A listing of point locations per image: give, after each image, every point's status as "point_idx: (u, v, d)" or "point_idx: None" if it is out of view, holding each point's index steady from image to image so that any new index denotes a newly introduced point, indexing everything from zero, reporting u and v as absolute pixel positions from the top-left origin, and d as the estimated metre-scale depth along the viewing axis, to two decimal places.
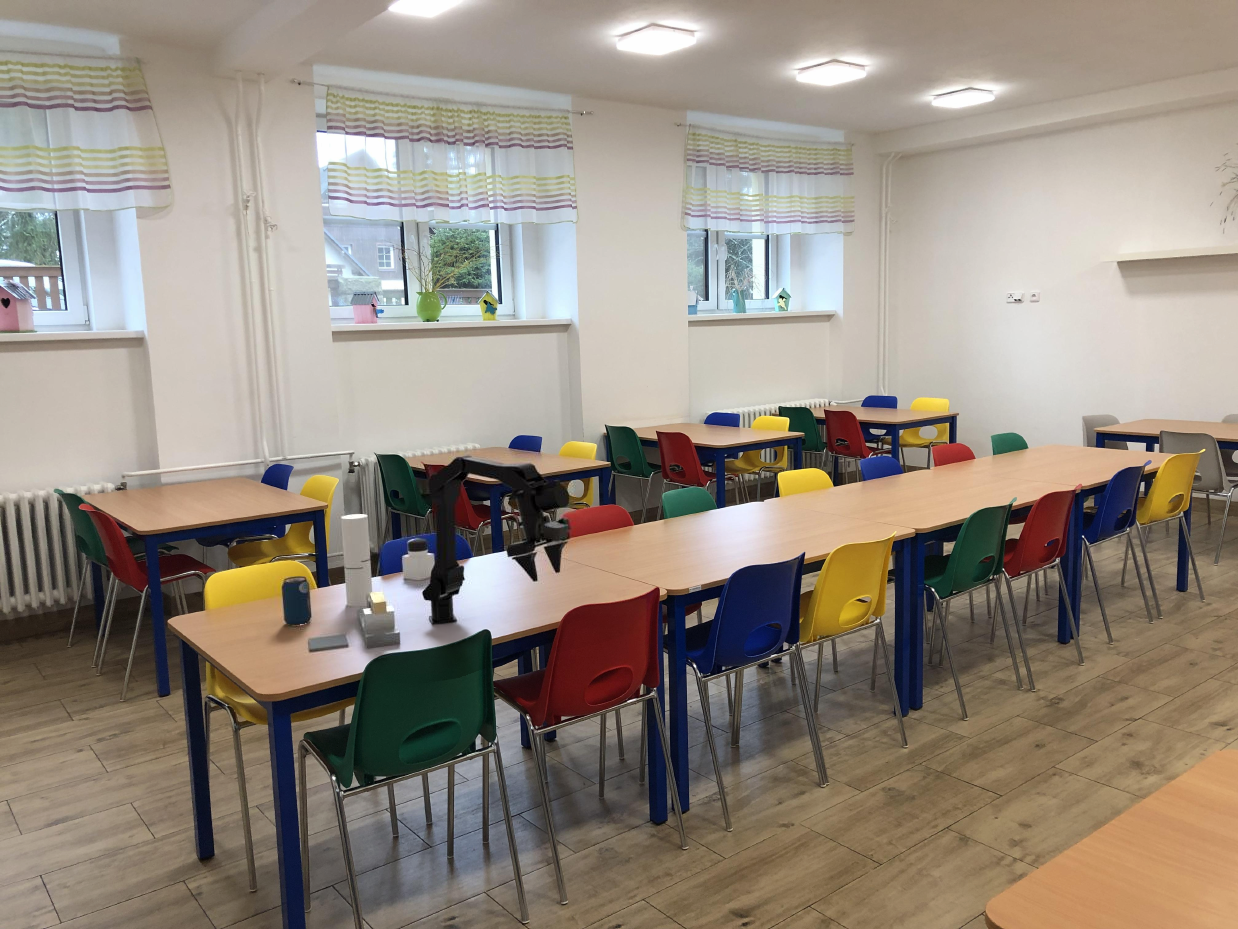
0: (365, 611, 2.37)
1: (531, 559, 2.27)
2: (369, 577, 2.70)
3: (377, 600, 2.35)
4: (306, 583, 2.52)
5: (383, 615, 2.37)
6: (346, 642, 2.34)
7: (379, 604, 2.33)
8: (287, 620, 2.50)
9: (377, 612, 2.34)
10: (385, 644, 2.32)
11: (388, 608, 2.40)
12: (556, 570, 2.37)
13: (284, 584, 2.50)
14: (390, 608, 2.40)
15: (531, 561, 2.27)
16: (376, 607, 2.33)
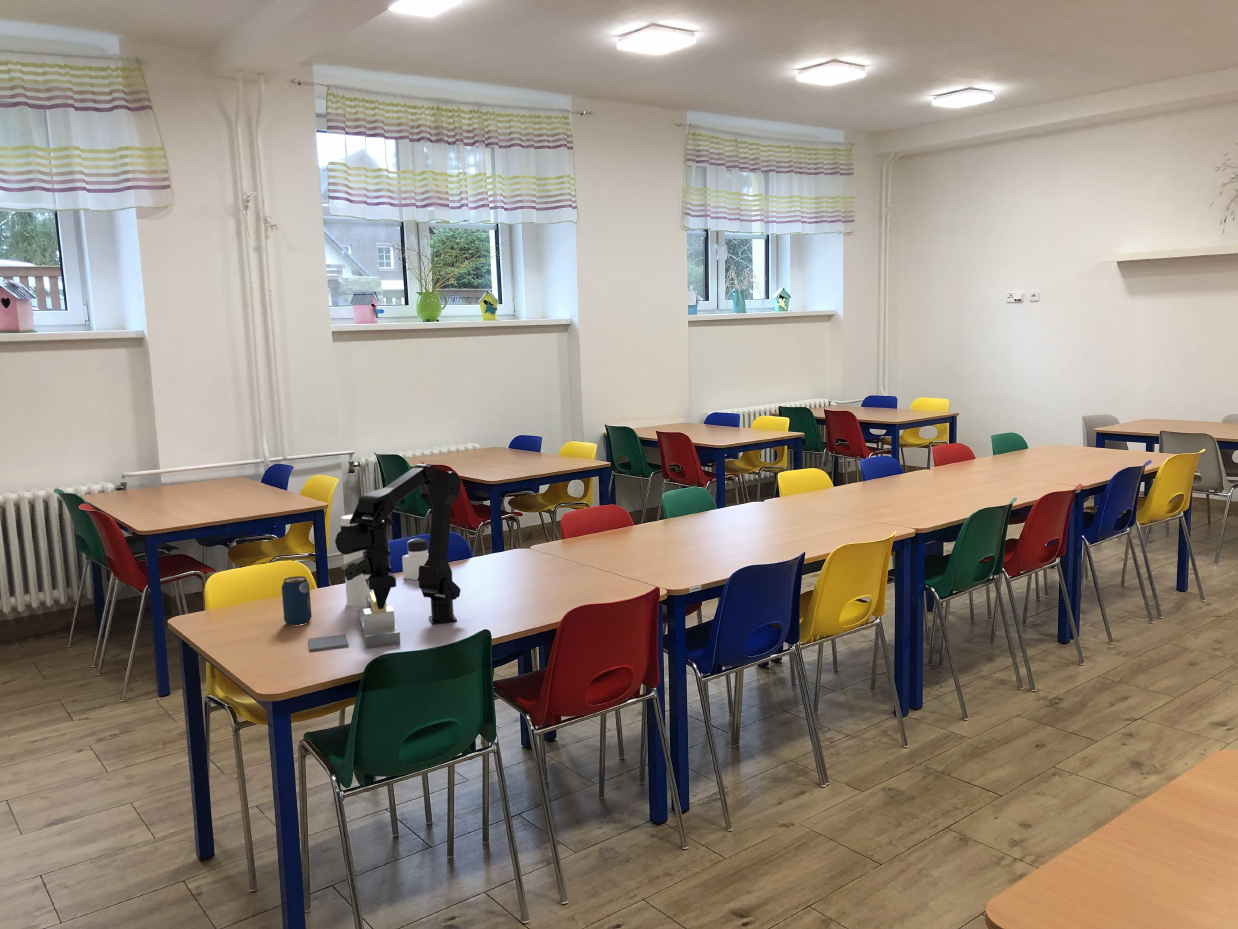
0: (365, 611, 2.37)
1: None
2: None
3: None
4: (306, 583, 2.52)
5: (383, 615, 2.37)
6: (346, 642, 2.34)
7: None
8: (287, 620, 2.50)
9: (377, 611, 2.34)
10: (385, 644, 2.32)
11: (388, 608, 2.40)
12: None
13: (284, 584, 2.50)
14: (390, 608, 2.40)
15: None
16: (376, 607, 2.34)
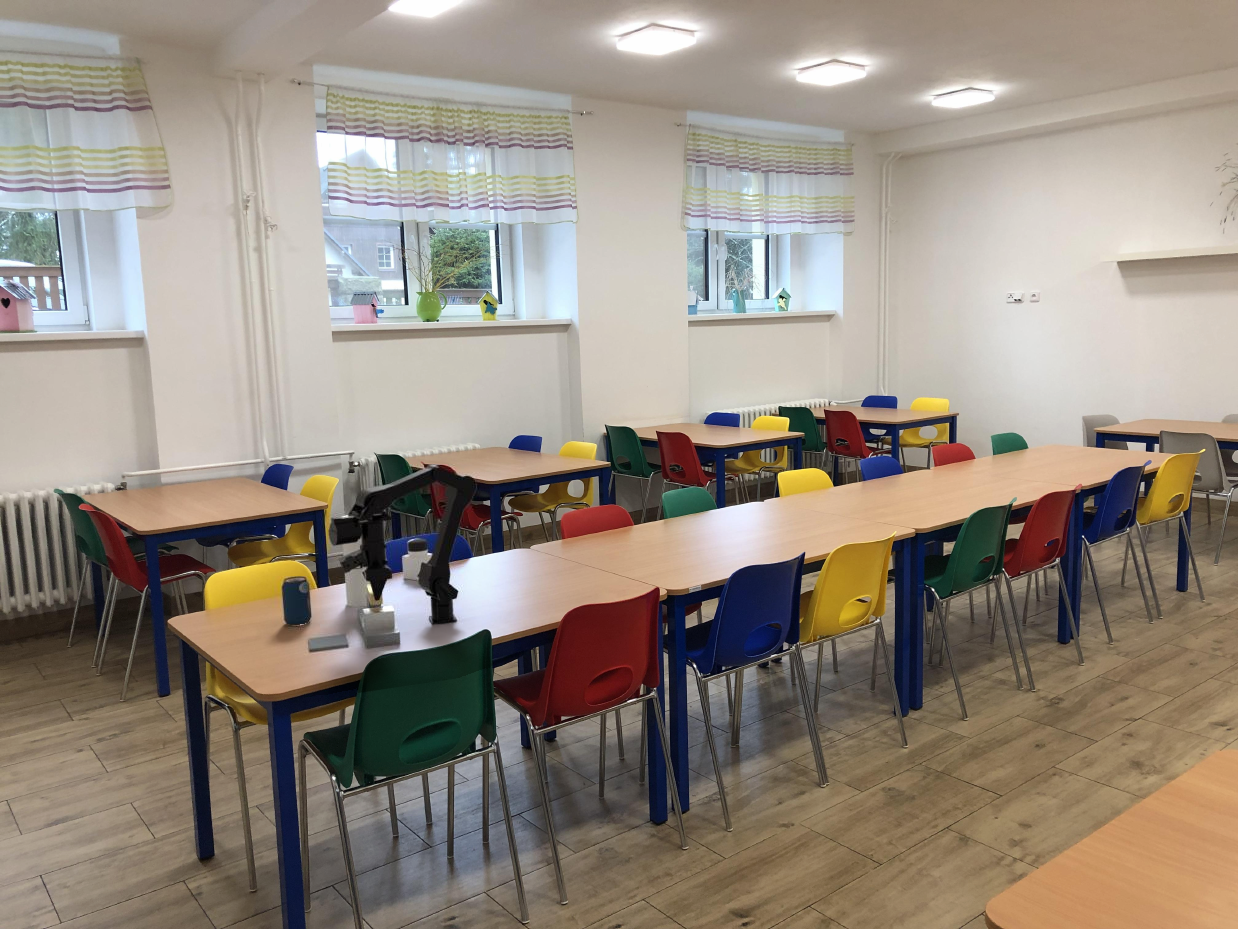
0: (365, 611, 2.37)
1: None
2: None
3: None
4: (306, 583, 2.52)
5: (383, 615, 2.37)
6: (346, 642, 2.34)
7: None
8: (287, 620, 2.50)
9: (373, 603, 2.42)
10: (385, 644, 2.32)
11: (388, 608, 2.40)
12: None
13: (284, 584, 2.50)
14: (390, 608, 2.40)
15: None
16: (373, 598, 2.42)
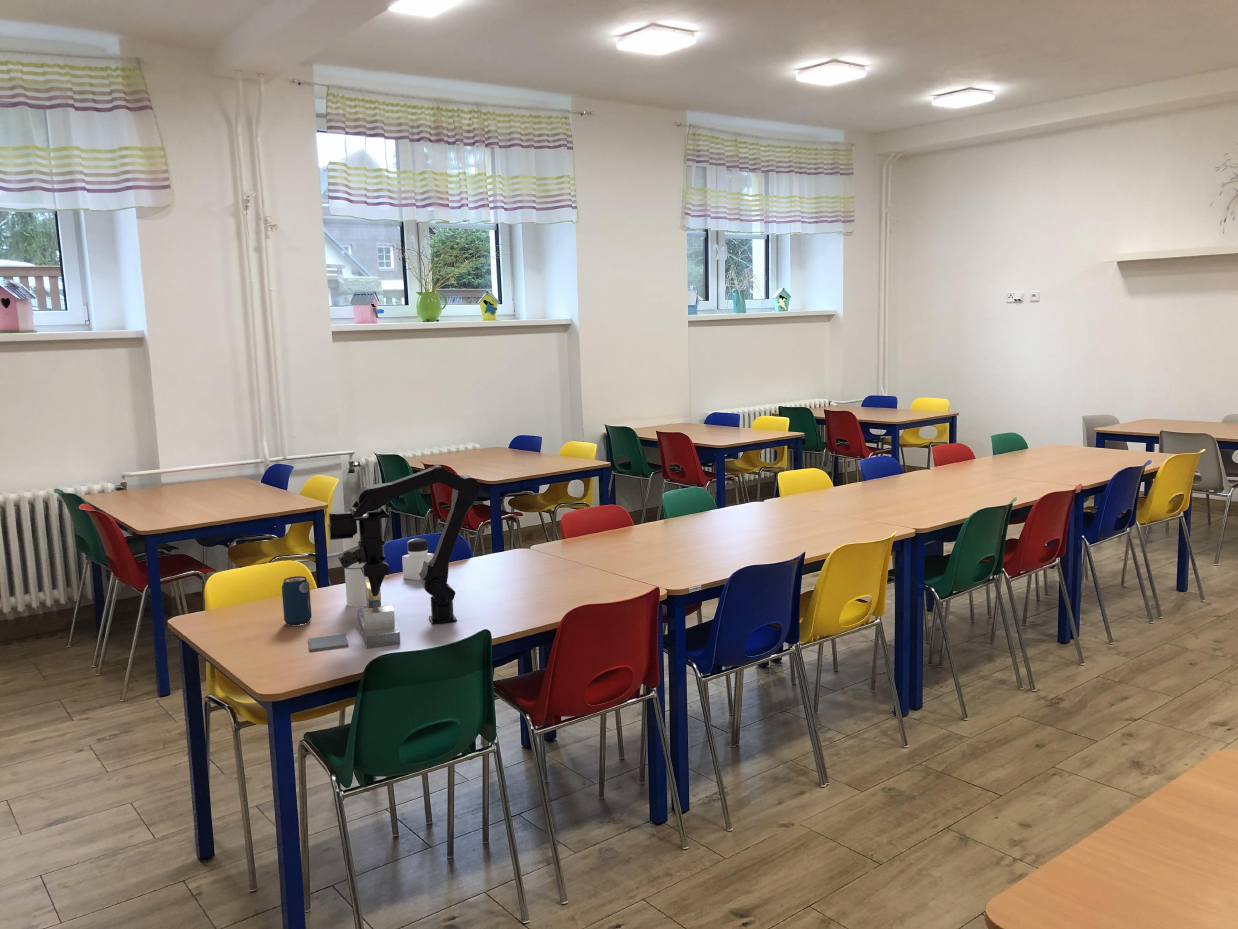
0: (365, 611, 2.37)
1: None
2: None
3: None
4: (306, 583, 2.52)
5: (383, 615, 2.37)
6: (346, 642, 2.34)
7: None
8: (287, 620, 2.50)
9: (372, 598, 2.46)
10: (385, 644, 2.32)
11: (388, 608, 2.40)
12: None
13: (284, 584, 2.50)
14: (390, 608, 2.40)
15: None
16: (371, 594, 2.46)
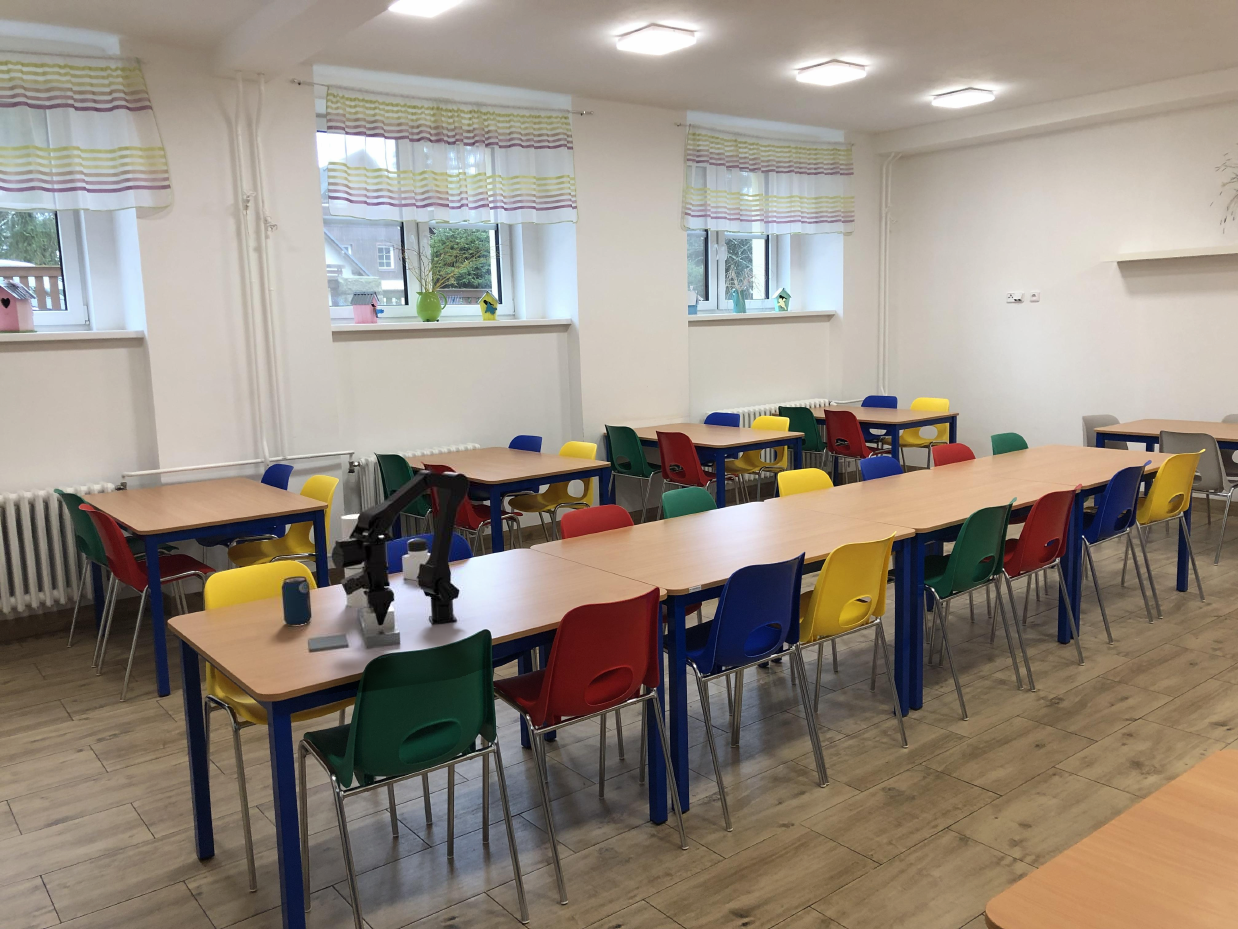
0: (365, 611, 2.37)
1: None
2: None
3: None
4: (306, 583, 2.52)
5: None
6: (346, 642, 2.34)
7: None
8: (287, 620, 2.50)
9: None
10: (385, 644, 2.32)
11: None
12: None
13: (284, 584, 2.50)
14: (390, 608, 2.40)
15: None
16: None
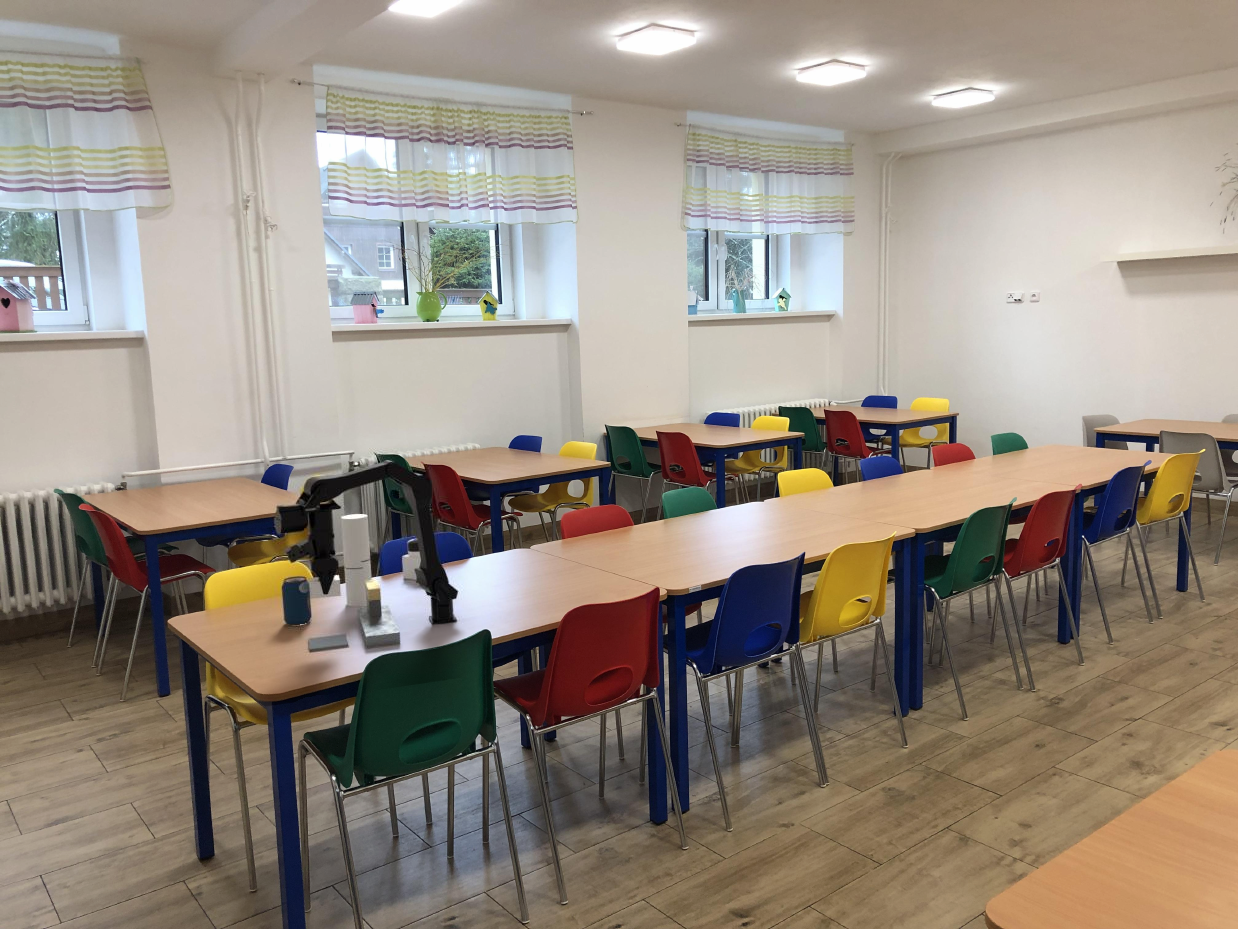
0: (310, 580, 2.32)
1: None
2: (369, 577, 2.70)
3: (372, 587, 2.48)
4: (306, 583, 2.52)
5: None
6: (346, 642, 2.34)
7: (373, 591, 2.46)
8: (287, 620, 2.50)
9: (372, 598, 2.46)
10: (385, 644, 2.32)
11: (334, 577, 2.34)
12: None
13: (284, 584, 2.50)
14: (336, 577, 2.34)
15: None
16: (371, 594, 2.46)
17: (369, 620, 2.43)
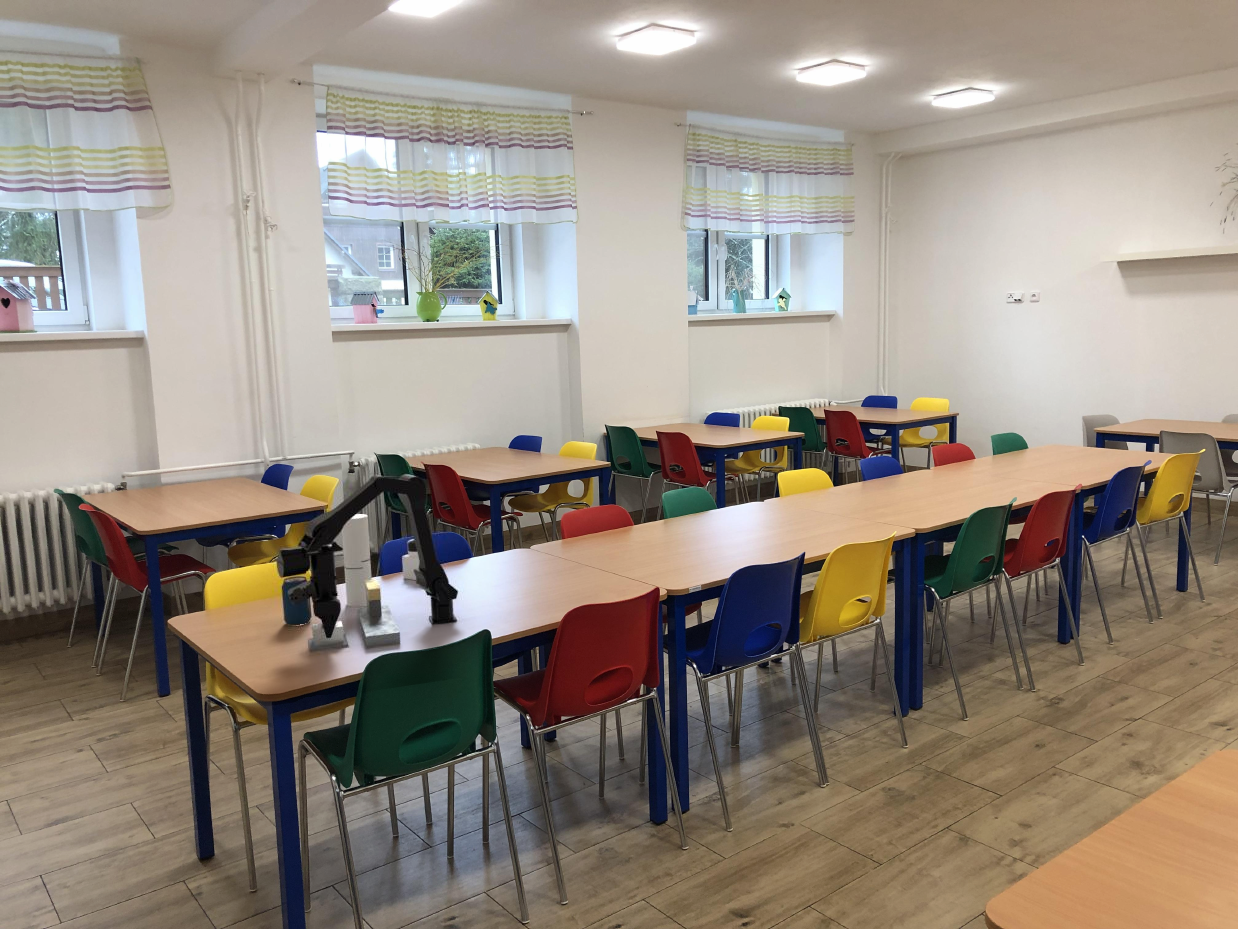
0: (313, 627, 2.34)
1: None
2: (369, 577, 2.70)
3: (372, 587, 2.48)
4: None
5: None
6: (346, 642, 2.34)
7: (373, 591, 2.46)
8: (287, 620, 2.50)
9: (372, 598, 2.46)
10: (385, 644, 2.32)
11: (337, 624, 2.36)
12: None
13: (284, 584, 2.50)
14: (339, 623, 2.36)
15: None
16: (371, 594, 2.46)
17: (369, 620, 2.43)
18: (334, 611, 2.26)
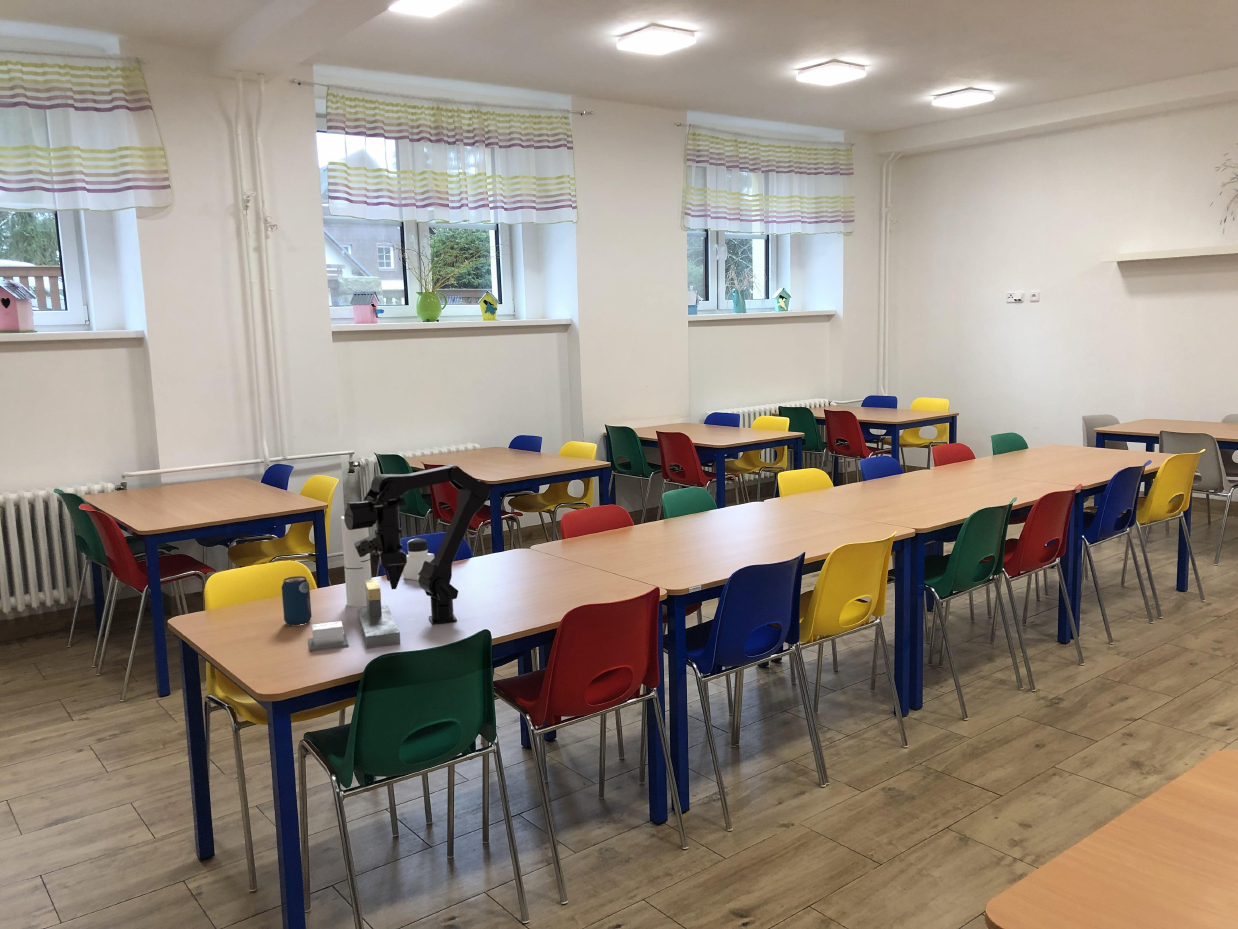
0: (313, 627, 2.34)
1: None
2: (369, 577, 2.70)
3: (372, 587, 2.48)
4: (306, 583, 2.52)
5: (331, 631, 2.33)
6: (346, 642, 2.34)
7: (373, 591, 2.46)
8: (287, 620, 2.50)
9: (372, 598, 2.46)
10: (385, 644, 2.32)
11: (337, 624, 2.36)
12: None
13: (284, 584, 2.50)
14: (339, 623, 2.36)
15: None
16: (371, 594, 2.46)
17: (369, 620, 2.43)
18: (400, 562, 2.34)
